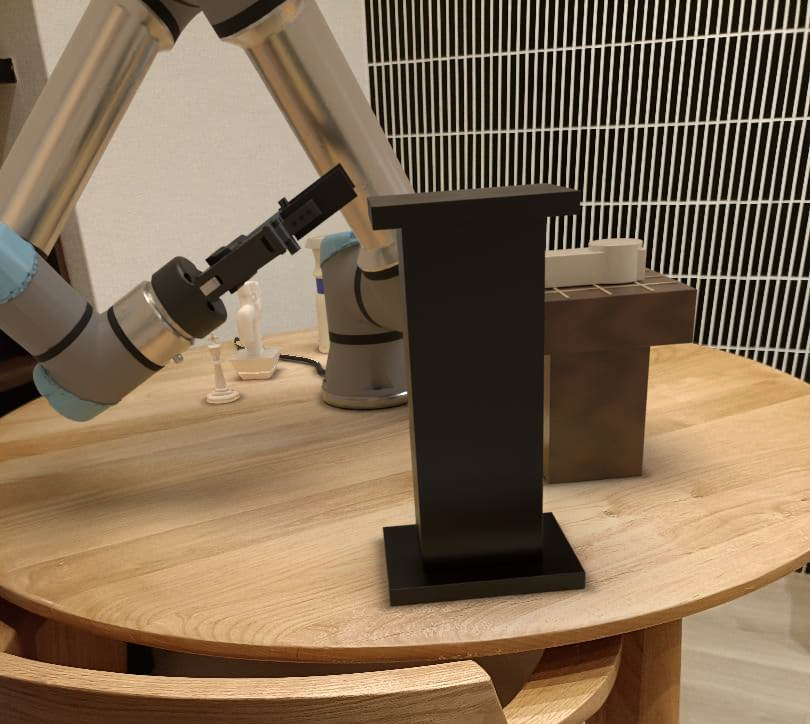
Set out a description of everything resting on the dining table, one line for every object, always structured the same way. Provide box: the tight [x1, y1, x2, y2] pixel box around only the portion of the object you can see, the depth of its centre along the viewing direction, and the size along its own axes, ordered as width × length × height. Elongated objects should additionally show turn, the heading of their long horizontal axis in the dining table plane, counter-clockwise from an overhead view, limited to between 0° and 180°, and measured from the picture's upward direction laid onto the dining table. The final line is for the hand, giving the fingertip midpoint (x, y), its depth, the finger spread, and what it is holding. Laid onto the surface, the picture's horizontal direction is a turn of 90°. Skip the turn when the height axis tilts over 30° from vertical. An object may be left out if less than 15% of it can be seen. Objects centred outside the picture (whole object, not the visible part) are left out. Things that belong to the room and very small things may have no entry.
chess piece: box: [206, 331, 240, 405], centre depth 122 cm, size 5×5×10 cm
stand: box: [367, 182, 587, 607], centre depth 65 cm, size 16×12×30 cm
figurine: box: [228, 280, 283, 381], centre depth 132 cm, size 7×9×15 cm
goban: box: [543, 266, 698, 484], centre depth 87 cm, size 16×16×20 cm
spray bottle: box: [304, 233, 330, 354], centre depth 143 cm, size 8×9×25 cm
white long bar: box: [398, 237, 647, 288], centre depth 81 cm, size 24×5×4 cm, turn 94°
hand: (348, 177), depth 77 cm, fingers open, 13 cm apart
